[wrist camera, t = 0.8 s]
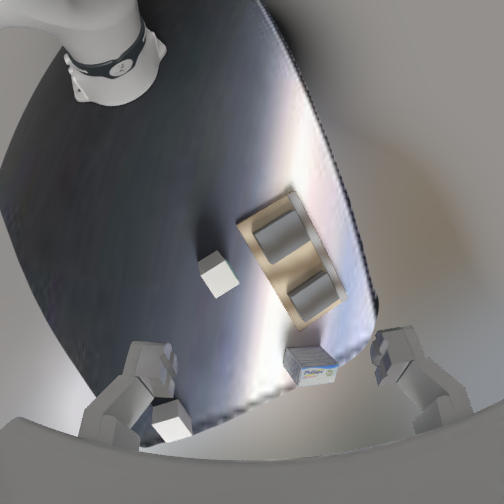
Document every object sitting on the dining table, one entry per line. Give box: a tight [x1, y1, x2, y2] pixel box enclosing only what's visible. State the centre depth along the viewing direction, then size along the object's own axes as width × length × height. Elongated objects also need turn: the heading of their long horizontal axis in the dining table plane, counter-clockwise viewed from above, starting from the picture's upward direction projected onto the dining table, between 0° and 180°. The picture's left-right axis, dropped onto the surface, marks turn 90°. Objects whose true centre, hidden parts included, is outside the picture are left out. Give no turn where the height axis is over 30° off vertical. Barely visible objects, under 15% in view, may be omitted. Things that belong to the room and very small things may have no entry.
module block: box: [198, 250, 239, 298], centre depth 46 cm, size 4×4×10 cm
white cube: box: [152, 399, 192, 443], centre depth 51 cm, size 6×6×6 cm
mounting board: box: [236, 191, 348, 331], centre depth 52 cm, size 24×12×4 cm, turn 30°
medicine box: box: [283, 346, 339, 386], centre depth 54 cm, size 8×4×9 cm, turn 84°
